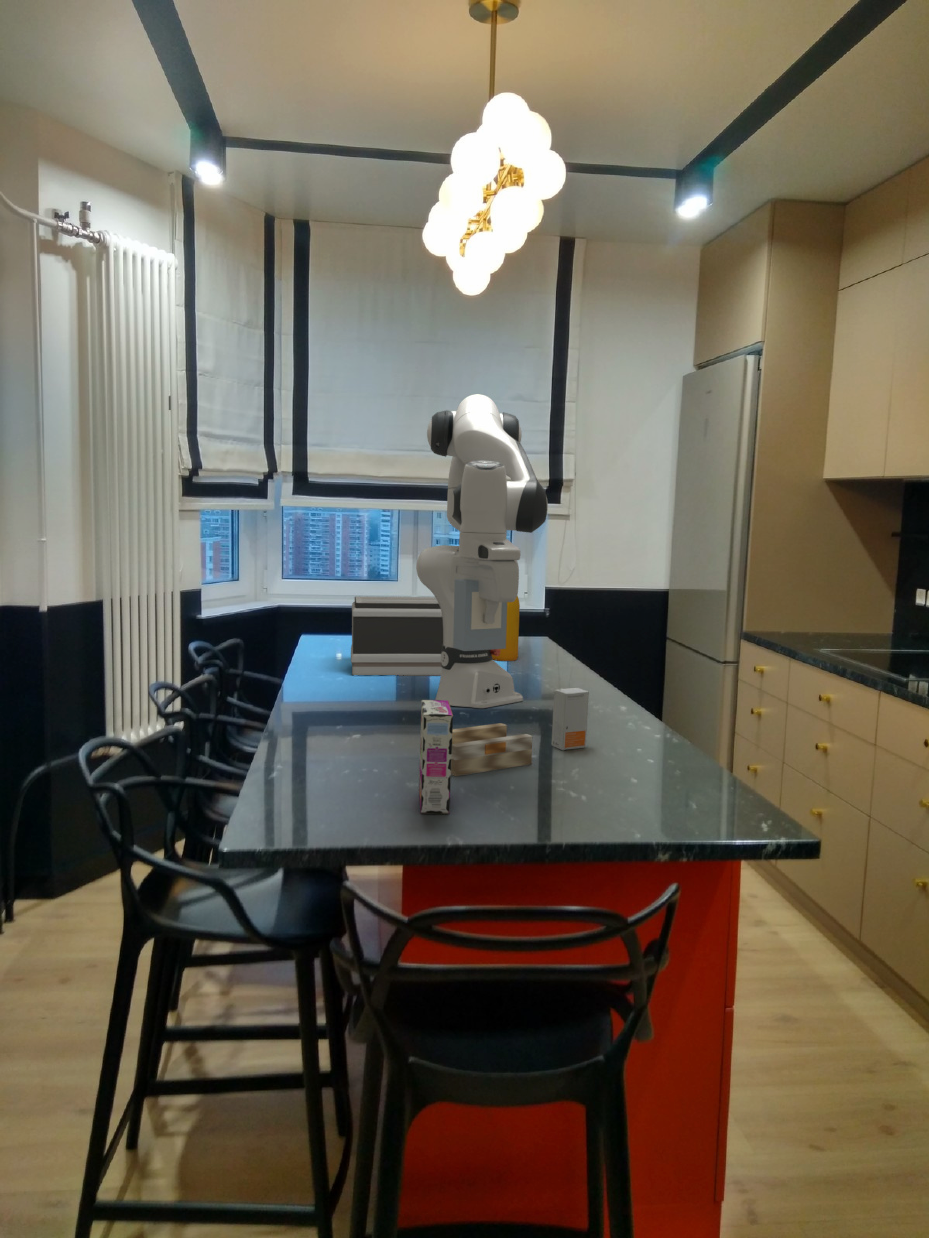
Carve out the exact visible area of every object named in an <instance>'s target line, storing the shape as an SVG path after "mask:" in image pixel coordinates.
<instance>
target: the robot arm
mask: <svg viewBox="0 0 929 1238" xmlns="http://www.w3.org/2000/svg"><path fill="white" fill-rule="evenodd" d="M426 436H427V437H426V438H427V442H428V444H429V446H430V450H431V451H432V452H433V454H435V455H437V456H441V457H445V458H446V457H447V456H449V457H452V458H451V461H450V466H449V471H448V472H449V473H448V480H447V481H448V482H447V483H448V484H447V502H446V503H447V504H446V505H447V508H446V517H447V520H448V521H447V522H449V525H450V526H452V527H453V528H454V529H456V530H458V531H459V540H458V541H459V542H458V545H446V544H445V545H444V544H443V545H437V546H429V547H425V548H424V549H423V550H422V551H421V552H420V554H419V555H418V557H417V560H416V567H415V568H416V574H417V576H418V577H417V578H418V579H419V581H420V582H421V583H422V585H423V586H425V587H426V588H427V589H428V590H429V591H430V592H431V593H432V594H433V596H434V597H436V599H437V601H438V603H439V605H440V608H441V612H442V618H443V644H442V646H441V667H442V670H441V676H440V677H439V678H440V679H439V684H438V689H437V692H436V695H435V699H434V700H446V701H449V704H450V706H452V707H453V706H454V707H466V708H474V709H485V708H492V707H497V706H502V705H507V704H512V703H513V704H514V703H519V702H523V701H524V697H523V695H522V694H521V693H520V692H517V691H515V684H514V678H513V677H512V675H511V674H510V673H509V672H508V671H507V670H506V669H505V668H503V667H502V666H500V665H499V664H498V663H497V662H496V660H492V659H493V658H492V655H495V656H499V654H501V653H500V651H501V650H498V649H491V650H475V651H462V650H459V649H456V648H453V634H454V592H455V579H470V580H476V581H479V591H478V592H479V598H482V599H485V605H487V607H486V611H485V614H483V623H486V624H493V623H494V621H495V613H496V611H497V609H498V606H499V602H514V601H515V599H516V597H517V596H518V593H519V584H520V583H519V579H520V569H519V563H518V561H519V560H520V559H521V550H520V548H519V547H518V546H516V545H515V544H513V543H512V542H511V541H510V540H509V539H508V538H507V537H508V536H507V534H508V533H507V531H515V532H520V533H521V532H522V533H528V534H529V533H533V532H535V531H537V530H538V529H539V528H541V526H542V525H543V524H544V523H546V520H547V515H548V509H549V507H548V506H549V505H548V504H549V503H548V498H547V494H546V491H545V488H544V487H543V486H542V484H541V483H540V482H539V481H538V478H537V477H536V474H535V471H534V469H533V467H532V464H531V462H530V460H529V457H528V455H527V453H526V451H525V449H524V446H523V445H522V443H521V442H522V436H523V435H522V428H521V425H520V420H519V419H518V417H517V416H516V415H514V414H511V413H508V412H502V413H500V410H499V409H498V406H497V405H496V403H495V401H494V400H493V399H491V397H490V396H488V395H484V394H476V393H474V394H471V395H468V396H466V397H465V398H464V399H462V400H461V402H460V403H459V405H458V407H457V409H456V410H448V409H446V410H441V411H438V412H436V413H435V414H433V415H432V416H431V419H430V421H429V423H428V425H427V431H426ZM508 477H509V478H510V480H507V478H508Z"/></svg>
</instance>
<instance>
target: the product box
mask: <svg viewBox="0 0 929 1238" xmlns="http://www.w3.org/2000/svg"><path fill="white" fill-rule="evenodd" d="M478 591H479V581H476V580H470V579H455V592H454V634H453V648H456V649H459V650H462V651H475V650H491V649H506V623H507V602H499V606H498V609H497V611H496V613H495V621H494V623H493V624H486V623H483V614H485V611H486V607H487V605H485V599H482V598H479V592H478Z"/></svg>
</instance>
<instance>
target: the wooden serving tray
mask: <svg viewBox="0 0 929 1238" xmlns="http://www.w3.org/2000/svg"><path fill="white" fill-rule="evenodd" d="M507 729H508V725H506V724H505V723H501V722H499V723H492V724H484V725H477V726H476V725H475V726H469V727H460V728H453V731H452V758H451V776H454V777H460V776H465V775H466V776H467V775H472V773H473V774H477V773H483V772H489V771H490V772H491V771H497V770H503V769H508V768H509V769H510V768H515V767H521V766H522V767H523V766H527V765H528V766H529V765H533V763H532V761H533V735H530V734H528V733H525V734H524V733H523V734H516V735H507V733H508V732H507V731H508V730H507Z"/></svg>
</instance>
